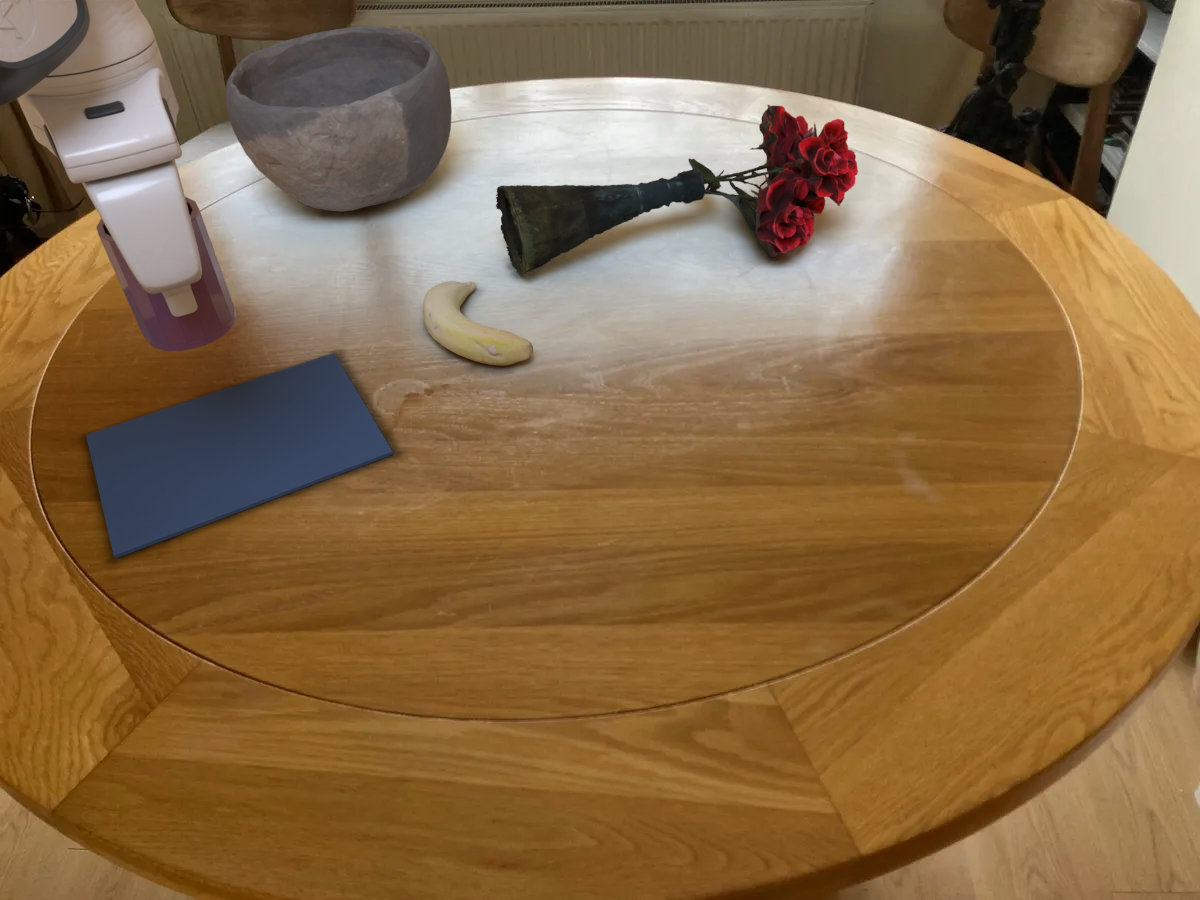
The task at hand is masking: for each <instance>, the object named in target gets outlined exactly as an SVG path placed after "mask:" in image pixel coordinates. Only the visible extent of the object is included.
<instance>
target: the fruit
mask: <svg viewBox="0 0 1200 900" xmlns="http://www.w3.org/2000/svg"><path fill="white" fill-rule="evenodd" d="M476 289H477V286H476V283H475V281H467V282H461V281H454V280H451V281H450V280H449V281H444V282H441V283H438V284H435V285H433V286H431V287H430V288H429V289H428V290H427V291H426V293H425V295H424V297H423V303H422V317H423V322H424V323H423V324H424V326H425V328H426V330H427V332H428V333H429V335H430V336H431V337H432V339H434V340H435V341H436V342H437V343H438V344H439V345H441V346H442V347H443V348H445V349H447V350H448V351H450V352H452V353H454V354H456V355H458V356H460V357H462V358H465V359H468V360H471V361H474V362H477V363H480V364H485V365H490V366H509V365H513V364H516V363H519V362H522V361H527V360H528V359H529V358H530V357H531V356H532V354H533V352H534V346H533V344H532V342H531V341H530V340H529V339H527V338H524V337H522V336H520V335H518V334H515V333H513V332H511V331H507V330H504V329H499V328H498V329H497V328H494V327H489V326H486V325H483V324H481V323H478V322H476V321H474V320H472V319H470V318H468V317H467V316H465V315H464V314H463V313H462V312H461V306H462V305H463V303H464V302H465V300H466V299H467V297H468V296H470V294H471V293H472V292H474V291H475V290H476Z"/></svg>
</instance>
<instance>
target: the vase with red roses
mask: <svg viewBox="0 0 1200 900" xmlns="http://www.w3.org/2000/svg"><path fill="white" fill-rule="evenodd" d="M766 107H767V108H766V109H765V110H764V112H763V113H762V116H761V118H760V119H761V123H760V124H759V126H758V127H759V131H760V133H761V134H762V143H761V144H759V145H758V147H751V148H749V150H752V151H753V150H759V151H761V150H762V151H763V153H764V154H765V156H766V160H765V163H764V164H762V165H759V166H756V167H754V168H750V169H747V170H743V171H739V172H734V173H730V174H729V173H728V174H724V172H725V169H723V170H722V171H721V172H720V173H719V174H717V176H716V175H715V174H714V172H713V170H712V169H710V168H709V167H707V166H705V164H703V163H701V162H699V161H697V159H695V158H688V163H689V165H690V167H691V168H692V169H690V170H684V171H680V172H678V173H677V174H676V175H674V176H673V177H670V178H664V177H660V178H659V179H656V180H652V181H648V182H639V183H638V184H632V183H624V184H623V183H622V184H609V185H608V184H604V185H600V184H597V185H594V184H591V185H582V184H581V185H580V184H578V185H574V184H570V185H569V184H560V185H547V184H546V185H531V184H530V185H529V184H522V185H520V184H519V185H518V184H517V185H499V186H497V187H496V194H495V200H496V204H495V208H496V210H499V211H500V212H501V217H500V222H501V223H500V232H501V233H502V237H503V240H504V243H505V244H506V247H505V249H507V250H506V251H507V256H508V257H509V261H510V263H511V266H512V267H513V268H515V270H516V273H517V274H518V275H519V276H520V275H521V276H525V275H526V276H527V275H528V273H530V272H533V271H534V270H537V269H538V268H542V267H543V266H545V265H547V264H548V263H549V262H551V261H552V260H553V259H555V258H557V257H559V256H561V255H562V254H565V253H566V254H567V253H569V252H570V251H571V250H574V249H575V248H577V247H579V246H581V245H583V244H584V243H586V242H587V241H588V240H590V239H593V238H595V236H598V235H602V234H604V233H605V232H606V231H609V230H611V229H613V228H614V227H618V226H619V225H622V224H623V223H628V222H630V221H632V220H633V219H634V218H638V217H639V216H640V215H643V214H645V213H650V212H651V211H652V210H657V209H660V208H663V207H664V206H665V207H668V208H669V207H670V206H671V204H673V203H684V204H686V205H688V204H691V203H693V202H696V201H701V200H703V199H704V197H705V195H713V196H721V197H724V198H725V199H727V200H729V201H730V202H731V203H732V204H733V205H734V206H735V207H736V209H737V210H738V212H739V213H740V214H741V217H742V219H743V220H744V223H745V225H746V226H747V228H748V230H749V232H750V233H751V234H752V235H753V236H754V237H753V238H755V239H756V241H758V243H759V245H760V246H761V247H762V248H763V249H764V250H765V251H766V253H767V254H768V256H769V257H770V258H776V257H777V254H781V253H782V254H786V253H787V252H790V251H794V249H796V248H797V247H804V246H805V245H807V243H808V242H809V241H810V240H811V238H812V236H813V235H814V233H815V218H816V217H815V215H822V213H823V211H824V210H825V205H826V198H829V199H830V200H831V201H832V202H834V204H836V205H837V206H838V207H841V204H842V203H843V201H844V199H845V194H846V193H847V192H849V191H850V190H851V189H852V188H853V187H854V186H855V185H856V176H857V175H858V173H859V169H858V162H857V160H856V158H857V156H856V154H855V151H853V150H852V149H849V145H848V143H847V141H848V138H849V137H848V135H849V132H848V131H847V130H846V129H845V126H846V125H845V124H846V123H845V121H844V120H843V119H841V118H835V119H832V120H831V121H828V122H826V123H825V124H824V125H823V127H822V129H821V131H820V133H819V134H818V132H817V127H816V126H817V125H816V122H814V124H813V126H812V127H810V128H809V124H808V123H809V122H807V120H806V119H805V117H804V116H803V115H798V116H797V115H796V117H795V116H793V115H792V114H791V113H789V112H788V111H787V110H786V107H785V106H783V105H770V104H767V106H766ZM765 169H766V171H763V172H758V171H761V170H765ZM762 176H764V177H765V180H764V181H763V182H762V183H760V185H758V183H752V182H749V181H747V180H750V179H755V178H757V177H762ZM721 182H728V183H729V185H730V187H731V188H732V189H733V190H734V191H735V193H736V194H735V193H727V192H724V191H720V188H721V187H722V184H721ZM734 182H738V183H741V184H744V185H746V184H748V185H750V186H753V187H755V188H756V189H758V190H757V191H758V192H757V191H755V190H753V189H750V192H751V193H752V194H754V196H753V195H751V194H749V193H747V192H746V191H745V190H743V188H740V187H738V186H736V185H735V183H734ZM765 184H766V186H765V187H763V186H764V185H765ZM705 185H707V186H705ZM762 187H763V188H762ZM751 203H752V204H754V205H756V209H755V208H754V207H753V205H751Z"/></svg>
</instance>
